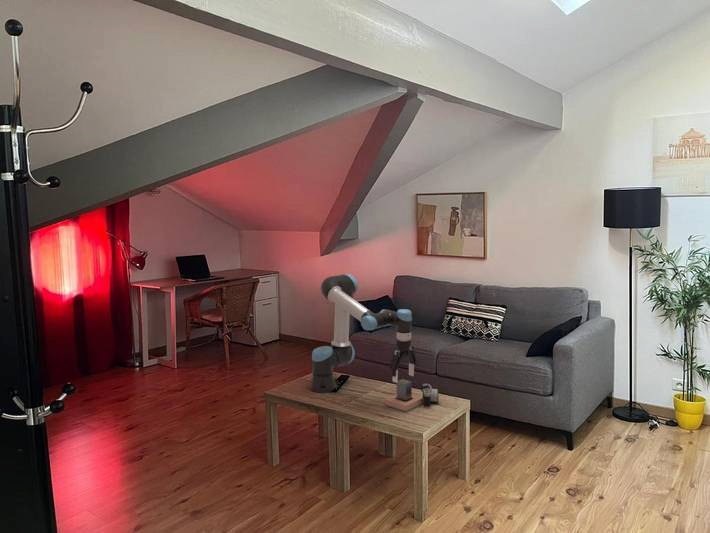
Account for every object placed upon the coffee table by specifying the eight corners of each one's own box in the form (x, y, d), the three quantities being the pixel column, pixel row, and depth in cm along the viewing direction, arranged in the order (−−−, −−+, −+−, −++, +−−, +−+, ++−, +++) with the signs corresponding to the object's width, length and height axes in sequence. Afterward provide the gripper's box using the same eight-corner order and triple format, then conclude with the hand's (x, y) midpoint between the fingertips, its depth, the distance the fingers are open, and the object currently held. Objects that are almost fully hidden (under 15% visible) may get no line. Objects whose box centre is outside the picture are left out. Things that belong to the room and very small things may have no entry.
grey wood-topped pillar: (396, 403, 305) (396, 381, 303) (402, 400, 308) (402, 379, 307) (405, 406, 301) (405, 383, 299) (411, 403, 304) (411, 381, 303)
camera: (438, 408, 299) (438, 390, 298) (421, 408, 300) (421, 389, 299) (437, 397, 314) (437, 380, 313) (421, 397, 315) (421, 379, 314)
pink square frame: (384, 405, 304) (384, 399, 304) (402, 397, 315) (402, 391, 314) (405, 412, 295) (405, 405, 294) (423, 404, 305) (423, 397, 305)
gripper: (394, 346, 288) (393, 386, 292) (424, 336, 306) (423, 374, 310) (382, 343, 293) (382, 383, 297) (412, 333, 311) (412, 371, 315)
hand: (403, 378), depth 303 cm, fingers open, 13 cm apart
